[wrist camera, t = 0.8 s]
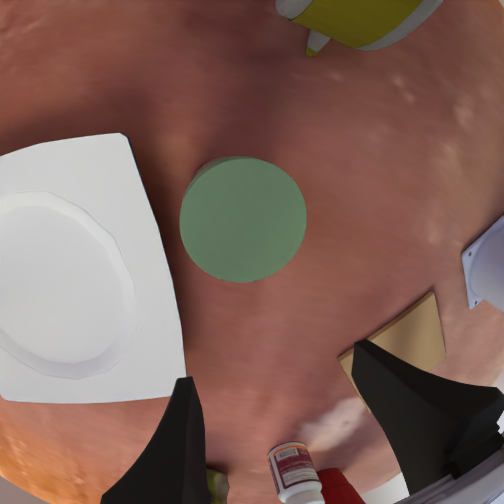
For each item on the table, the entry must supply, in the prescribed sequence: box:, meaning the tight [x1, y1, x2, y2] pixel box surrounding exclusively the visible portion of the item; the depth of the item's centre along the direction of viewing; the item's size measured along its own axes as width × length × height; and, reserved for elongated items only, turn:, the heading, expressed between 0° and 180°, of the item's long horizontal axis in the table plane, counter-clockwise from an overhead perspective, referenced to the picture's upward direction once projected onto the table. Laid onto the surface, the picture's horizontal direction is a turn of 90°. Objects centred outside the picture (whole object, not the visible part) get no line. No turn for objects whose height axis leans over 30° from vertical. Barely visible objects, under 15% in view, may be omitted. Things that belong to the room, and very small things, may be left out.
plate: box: [0, 133, 187, 403], centre depth 19 cm, size 20×20×3 cm
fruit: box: [206, 468, 229, 504], centre depth 28 cm, size 9×9×8 cm
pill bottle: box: [268, 442, 325, 504], centre depth 27 cm, size 5×5×8 cm
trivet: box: [337, 291, 446, 413], centre depth 28 cm, size 11×11×1 cm
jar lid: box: [180, 156, 307, 282], centre depth 14 cm, size 6×5×2 cm
